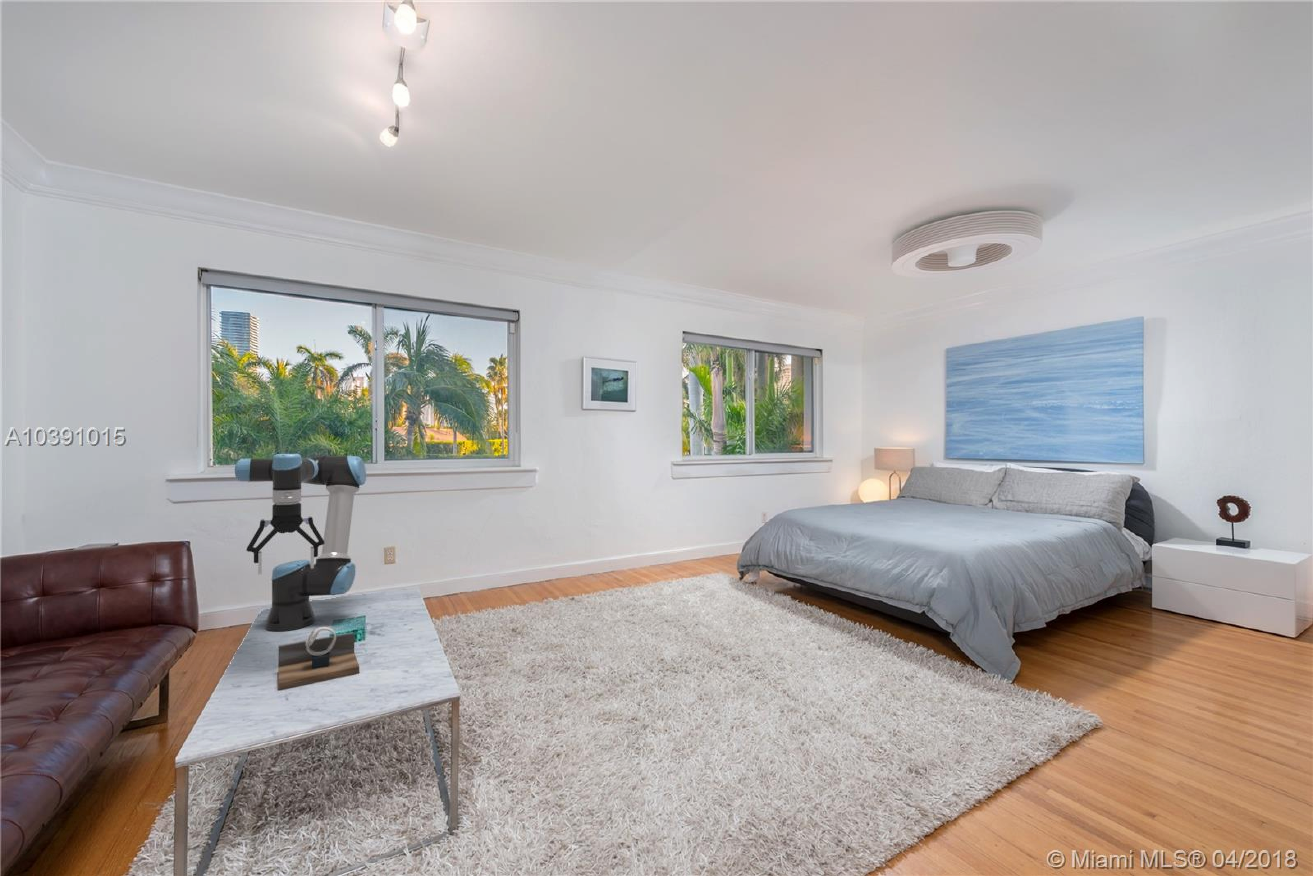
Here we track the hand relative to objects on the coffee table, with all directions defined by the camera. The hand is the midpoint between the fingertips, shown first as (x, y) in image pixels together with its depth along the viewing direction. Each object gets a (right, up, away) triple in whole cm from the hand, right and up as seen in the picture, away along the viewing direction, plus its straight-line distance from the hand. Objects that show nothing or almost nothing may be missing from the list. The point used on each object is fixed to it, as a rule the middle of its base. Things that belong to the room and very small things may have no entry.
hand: (286, 570), depth 172 cm
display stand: (+15, -29, -7) cm, 33 cm away
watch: (+15, -27, -6) cm, 31 cm away
